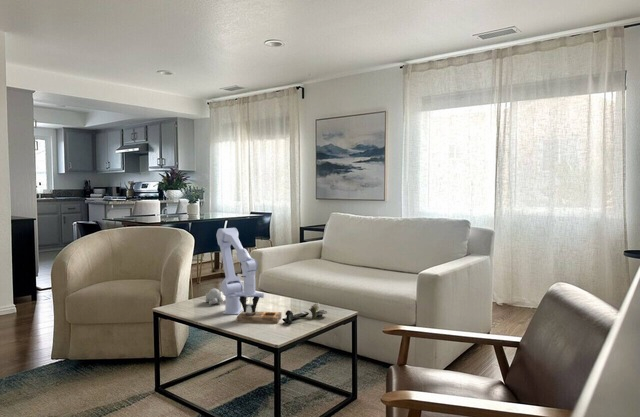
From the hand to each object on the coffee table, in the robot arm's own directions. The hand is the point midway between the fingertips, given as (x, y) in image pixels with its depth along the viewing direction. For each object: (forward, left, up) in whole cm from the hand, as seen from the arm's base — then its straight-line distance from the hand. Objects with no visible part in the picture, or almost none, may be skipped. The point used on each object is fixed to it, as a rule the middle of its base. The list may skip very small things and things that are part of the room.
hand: (249, 311), depth 223 cm
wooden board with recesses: (0, +5, -4) cm, 6 cm away
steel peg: (0, 0, -3) cm, 3 cm away
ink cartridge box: (-36, -15, -4) cm, 39 cm away
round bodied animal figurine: (-27, -28, -4) cm, 39 cm away
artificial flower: (-3, +28, -4) cm, 28 cm away
